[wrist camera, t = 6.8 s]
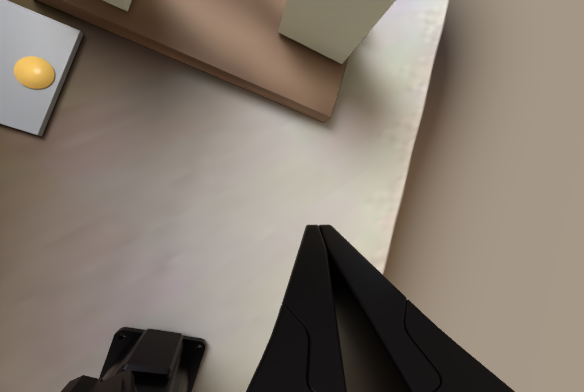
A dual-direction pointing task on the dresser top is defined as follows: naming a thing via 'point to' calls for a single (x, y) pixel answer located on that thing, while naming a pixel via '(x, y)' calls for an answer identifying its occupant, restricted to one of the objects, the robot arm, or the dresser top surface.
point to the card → (32, 65)
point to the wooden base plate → (225, 45)
